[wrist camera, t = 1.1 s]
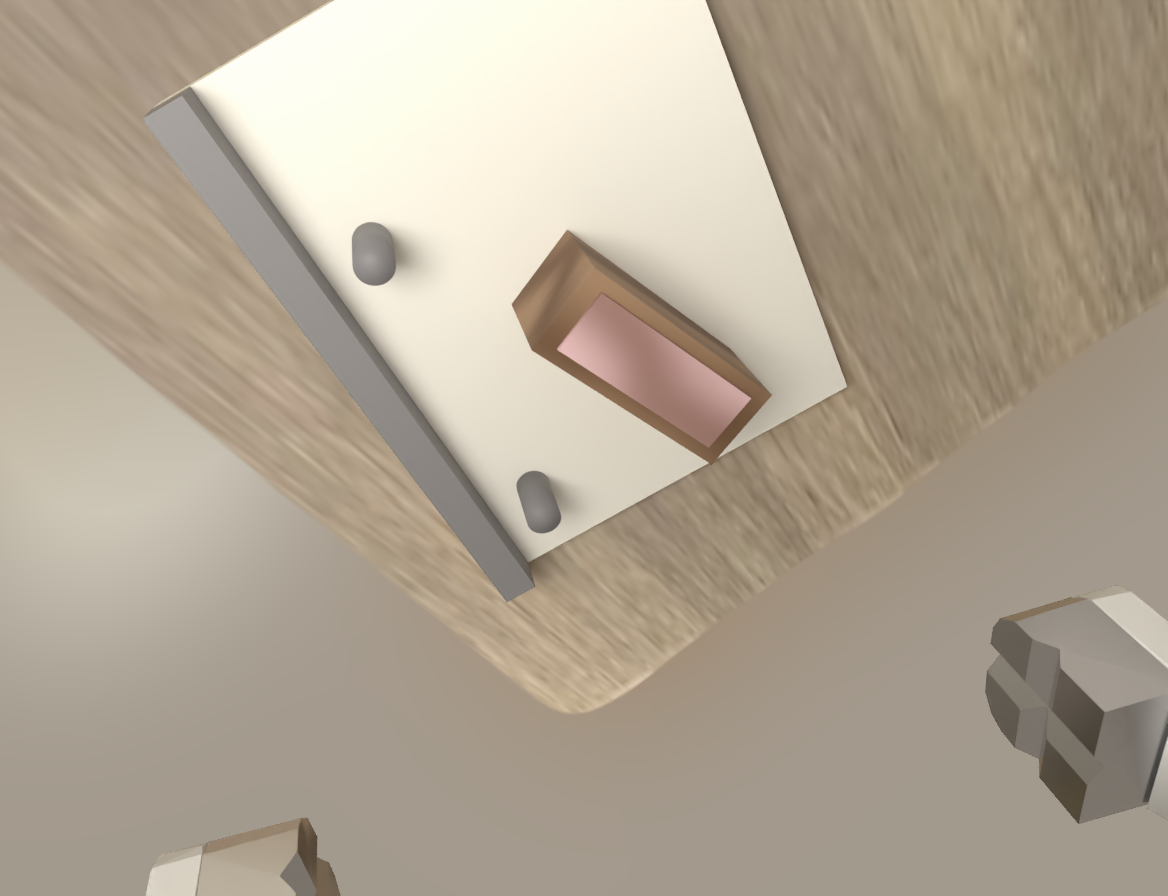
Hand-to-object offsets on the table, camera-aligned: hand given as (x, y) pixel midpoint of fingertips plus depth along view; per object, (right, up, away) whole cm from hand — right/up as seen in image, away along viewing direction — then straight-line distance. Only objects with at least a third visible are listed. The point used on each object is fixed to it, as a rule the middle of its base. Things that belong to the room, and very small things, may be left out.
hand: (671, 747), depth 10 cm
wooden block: (+1, +9, +31) cm, 32 cm away
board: (-2, +12, +30) cm, 32 cm away
